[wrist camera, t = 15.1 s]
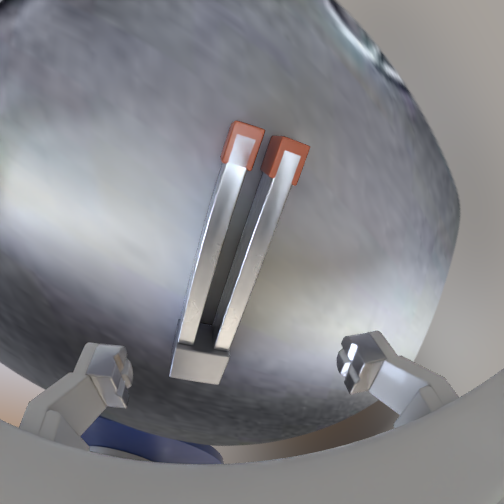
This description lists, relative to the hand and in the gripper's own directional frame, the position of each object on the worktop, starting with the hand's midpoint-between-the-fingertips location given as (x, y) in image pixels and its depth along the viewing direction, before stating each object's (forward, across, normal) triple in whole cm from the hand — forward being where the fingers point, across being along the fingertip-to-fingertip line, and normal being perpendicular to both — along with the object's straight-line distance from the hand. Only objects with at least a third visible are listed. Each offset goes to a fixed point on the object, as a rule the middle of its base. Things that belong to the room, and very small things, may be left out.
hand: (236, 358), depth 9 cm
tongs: (+8, 0, 0) cm, 8 cm away
